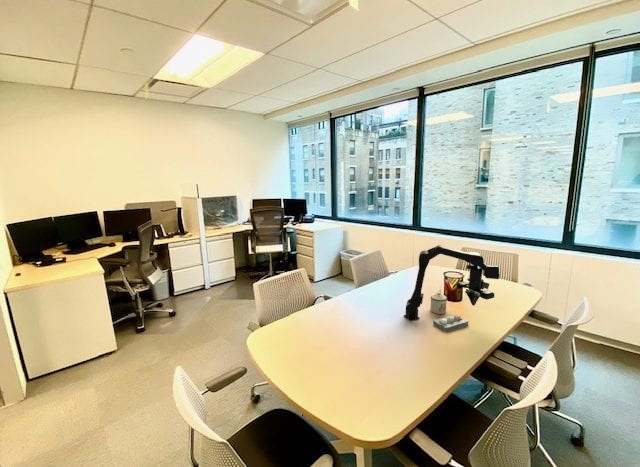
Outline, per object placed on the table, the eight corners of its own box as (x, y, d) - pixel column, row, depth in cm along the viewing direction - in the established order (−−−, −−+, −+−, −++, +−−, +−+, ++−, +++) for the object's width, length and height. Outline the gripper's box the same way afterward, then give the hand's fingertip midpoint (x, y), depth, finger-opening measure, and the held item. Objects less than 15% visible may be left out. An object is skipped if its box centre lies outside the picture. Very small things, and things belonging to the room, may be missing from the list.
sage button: (450, 326, 158) (450, 319, 158) (445, 323, 161) (446, 317, 161) (455, 324, 160) (455, 318, 159) (450, 322, 163) (450, 316, 162)
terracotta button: (457, 324, 160) (457, 317, 160) (452, 321, 163) (453, 315, 163) (461, 322, 162) (462, 316, 161) (457, 320, 164) (457, 314, 164)
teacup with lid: (441, 316, 171) (442, 297, 169) (426, 310, 178) (427, 292, 176) (451, 309, 178) (452, 291, 176) (437, 305, 185) (438, 287, 183)
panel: (445, 332, 153) (446, 327, 153) (432, 324, 162) (433, 320, 161) (468, 325, 160) (468, 321, 159) (454, 318, 168) (454, 314, 167)
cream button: (443, 328, 156) (443, 321, 156) (438, 325, 159) (439, 319, 159) (448, 326, 158) (448, 320, 157) (443, 324, 161) (443, 318, 160)
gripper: (503, 280, 148) (500, 309, 151) (471, 270, 165) (469, 296, 168) (487, 283, 144) (485, 313, 147) (456, 273, 161) (454, 299, 164)
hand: (473, 305), depth 156 cm, fingers closed
